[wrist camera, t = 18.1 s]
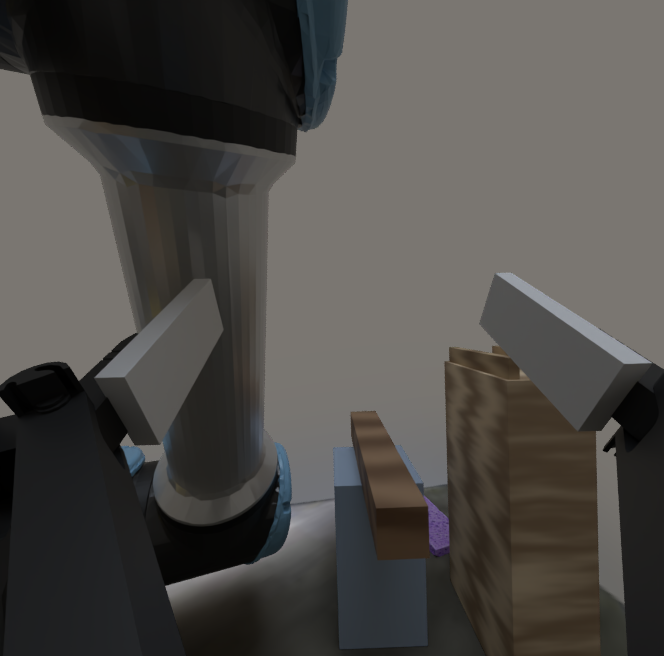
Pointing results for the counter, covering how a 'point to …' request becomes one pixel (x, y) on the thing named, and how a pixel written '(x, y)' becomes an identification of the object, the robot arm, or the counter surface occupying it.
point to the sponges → (438, 530)
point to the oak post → (520, 512)
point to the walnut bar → (389, 492)
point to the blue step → (373, 571)
